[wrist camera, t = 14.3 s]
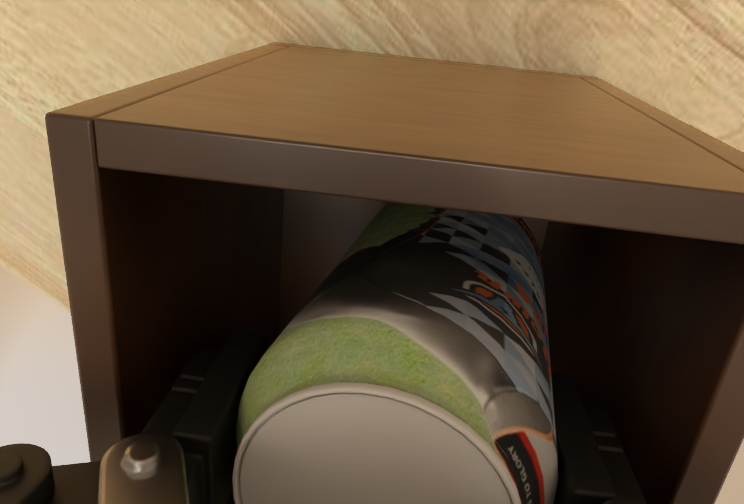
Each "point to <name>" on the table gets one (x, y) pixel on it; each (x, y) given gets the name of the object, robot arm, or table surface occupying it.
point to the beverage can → (409, 373)
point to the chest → (414, 187)
